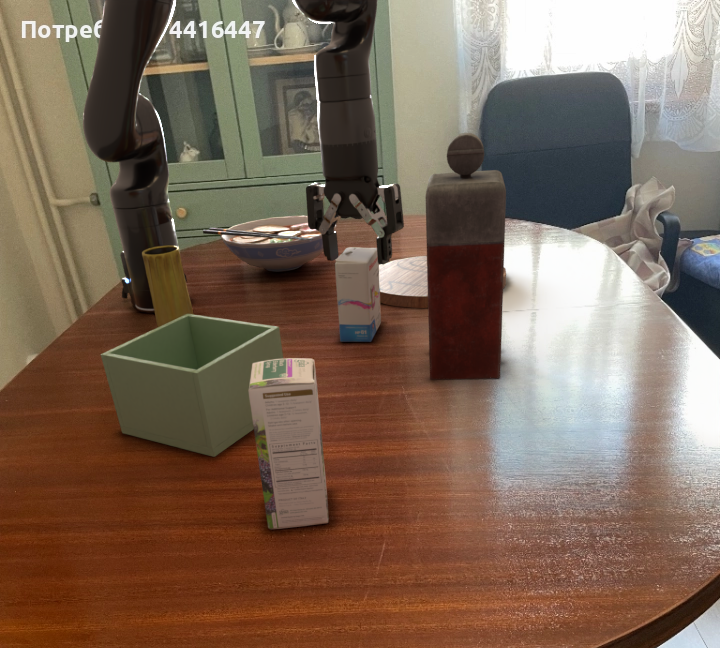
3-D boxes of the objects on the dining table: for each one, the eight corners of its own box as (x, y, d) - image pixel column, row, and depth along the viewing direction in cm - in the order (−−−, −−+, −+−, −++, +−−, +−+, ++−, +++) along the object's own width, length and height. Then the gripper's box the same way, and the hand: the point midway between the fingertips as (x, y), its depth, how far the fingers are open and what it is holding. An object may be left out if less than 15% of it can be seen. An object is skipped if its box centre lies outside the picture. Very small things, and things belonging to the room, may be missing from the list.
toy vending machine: (496, 345, 101) (503, 124, 87) (500, 378, 92) (508, 136, 77) (432, 347, 103) (428, 129, 88) (429, 379, 93) (424, 141, 79)
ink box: (372, 343, 106) (367, 261, 100) (339, 342, 107) (332, 261, 101) (383, 322, 113) (378, 245, 107) (351, 322, 114) (345, 245, 108)
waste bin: (121, 433, 87) (100, 354, 81) (202, 386, 97) (187, 313, 92) (214, 457, 80) (197, 373, 75) (289, 403, 90) (279, 326, 85)
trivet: (473, 314, 113) (473, 302, 112) (336, 299, 124) (335, 288, 123) (526, 270, 131) (526, 259, 130) (402, 260, 142) (402, 251, 141)
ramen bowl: (367, 256, 147) (364, 214, 142) (300, 289, 131) (294, 243, 127) (270, 247, 159) (265, 208, 155) (198, 277, 143) (190, 234, 139)
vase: (207, 338, 112) (189, 244, 105) (187, 353, 108) (167, 256, 100) (173, 336, 114) (153, 244, 107) (152, 351, 109) (129, 255, 102)
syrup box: (269, 498, 72) (247, 360, 64) (329, 491, 72) (313, 354, 64) (268, 531, 67) (244, 387, 59) (332, 524, 67) (316, 380, 60)
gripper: (408, 132, 95) (413, 257, 104) (318, 134, 102) (330, 251, 110) (381, 141, 90) (388, 272, 98) (287, 142, 96) (302, 265, 105)
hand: (357, 261), depth 104 cm, fingers open, 8 cm apart
